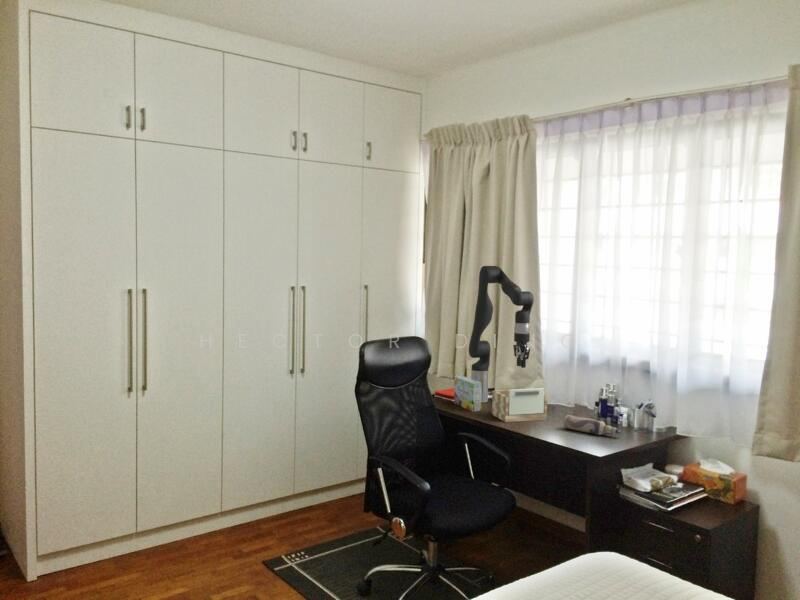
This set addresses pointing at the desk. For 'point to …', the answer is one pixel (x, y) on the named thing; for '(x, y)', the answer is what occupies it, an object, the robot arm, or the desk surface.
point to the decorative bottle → (588, 425)
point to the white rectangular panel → (526, 401)
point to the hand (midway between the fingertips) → (521, 366)
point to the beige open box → (502, 406)
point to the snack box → (467, 393)
